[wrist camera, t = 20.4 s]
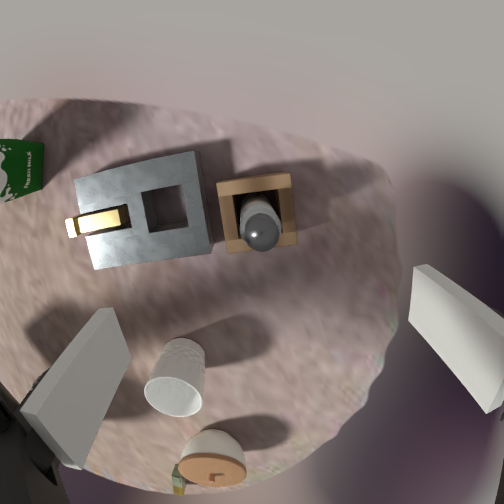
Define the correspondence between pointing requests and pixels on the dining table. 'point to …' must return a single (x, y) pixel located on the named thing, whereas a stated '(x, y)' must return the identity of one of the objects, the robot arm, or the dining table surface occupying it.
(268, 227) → the grey cylindrical rod
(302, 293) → the dining table surface
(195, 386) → the white cup
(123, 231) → the socket block
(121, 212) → the bar
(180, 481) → the medication box
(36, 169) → the milk carton
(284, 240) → the tan wooden open box
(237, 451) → the lidded bowl
